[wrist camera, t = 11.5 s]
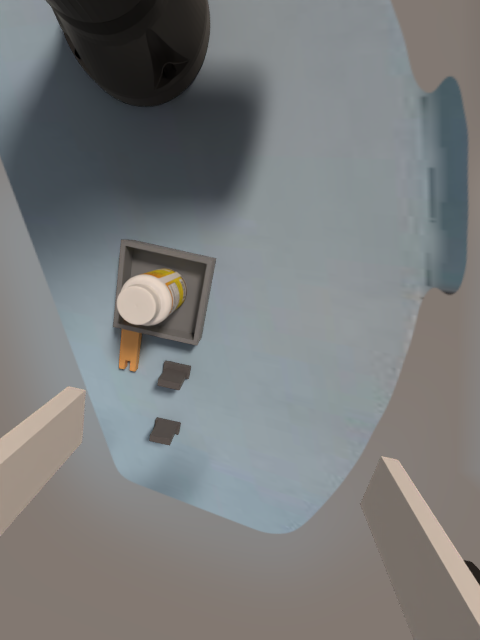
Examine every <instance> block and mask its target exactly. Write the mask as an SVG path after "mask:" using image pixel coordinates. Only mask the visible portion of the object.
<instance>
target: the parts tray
mask: <svg viewBox="0 0 480 640" xmlns="http://www.w3.org/2000/svg"><path fill="white" fill-rule="evenodd" d="M215 263H216V258H212V257H207V256H203V255H198V254H194V253H189V252H185V251H180V250H176V249H171V248H167V247H162V246H158V245H153V244H149V243H145V242H140V241H136V240H121V247H120V258H119V269H118V280H117V291H116V301H115V312H114V323H113V327H116V328H120V329H125V330H129V331H134V332H138V333H143V334H147V335H152V336H156V337H161V338H165V339H170V340H174V341H179V342H183V343H188V344H192V345H198V343H199V341H200V340H201V337H202V332H203V327H204V321H205V316H206V311H207V305H208V300H209V295H210V289H211V284H212V279H213V273H214V268H215ZM162 268H167V269H172V270H174V271H176V272H178V273H179V274H180V275H181V276H182V277H183V279H184V280H185V282H186V285H187V296H186V299H185V301H184V302H183V304H182V305H181V306H180V307H178V308H177V309H176V310H175V311H174V312H173V313H171V314H170V315H169V316H168V317H167V318H166V319H165V320H163V321H162V322H160V323H158V324H156V325H151V326H145V325H134V324H131V323H129V322H127V321H125V320H124V319H123V318H122V316H121V315H120V314H119V312H118V309H117V298H118V295H119V294H120V292H121V289H122V287H123V285H124V284H125V283H126V282H127V281H128V280H129V279H130V278H132V277H134V276H137V275H140V274H144V273H147V272H151V271H154V270H157V269H162Z"/></svg>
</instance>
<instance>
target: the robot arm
mask: <svg viewBox="0 0 480 640" xmlns="http://www.w3.org/2000/svg"><path fill="white" fill-rule="evenodd" d="M46 1H47V3H48V4H49V5H50V6H51V7H52V9H53V12H54V14H55V16H56V18H57V20H58V22H59V25H60V27H61V29H62V30H63V32H64V35H65V38H66V40H67V42H68V44H69V46H70V48H71V50H72V52H73V54H74V56H75V58H76V59H77V61H78V62H79V64H80V65H81V66H82V68H83V69H84V70H85V71H86V73H87V74H88V75H89V76H90V77H91V78H92V79H93V80H94V81H95V82H96V83H97V84H98V85H99V86H100V87H101V88H102V89H103V90H104V91H106V92H107V93H108V94H110V95H111V96H113V97H114V98H116V99H118V100H120V101H122V102H124V103H127V104H131V105H135V106H155V105H159V104H163V103H165V102H168V101H170V100H172V99H173V98H175V97H176V96H178V95H179V94H180V93H182V92H183V91H184V90H185V89H186V88H187V87H188V86H189V85H190V84H191V82H192V81H193V80H194V78H195V77H196V75H197V73H198V72H199V70H200V68H201V65H202V63H203V61H204V58H205V55H206V52H207V47H208V42H209V35H210V12H209V5H208V0H46ZM85 393H86V391H85V390H83V389H78V388H74V387H67V388H66V389H65V390H63V391H62V392H60V393H59V394H58V395H56V396H55V397H54V398H53V399H51V400H50V401H49V402H47V403H46V404H45V405H44V406H42V407H41V408H40V409H38V410H37V411H36V412H34V413H33V414H32V415H31V416H29V417H28V418H27V419H25V420H24V421H23V422H21V423H20V424H19V425H18V426H16V427H15V428H14V429H12V430H11V431H10V432H8V433H7V434H6V435H4V436H3V437H2V438H1V439H0V536H1V535H2V534H3V533H4V532H5V530H6V529H7V528H8V527H9V526H10V525H11V523H12V522H13V521H14V520H15V519H16V518H17V517H18V515H19V514H20V513H21V512H22V511H23V510H24V509H25V507H26V506H27V505H28V504H29V503H30V502H31V500H32V499H33V498H34V497H35V496H36V495H37V494H38V492H39V491H40V490H41V489H42V488H43V487H44V486H45V484H46V483H47V482H48V481H49V480H50V479H51V477H52V476H53V475H54V474H55V473H56V472H57V471H58V469H59V468H60V467H61V466H62V465H63V464H64V462H65V461H66V460H67V459H68V458H69V457H70V455H71V454H72V453H73V452H74V451H75V450H76V449H77V447H78V446H79V445H80V444H81V443H82V435H83V421H84V407H85ZM360 505H361V508H362V510H363V513H364V515H365V518H366V520H367V523H368V525H369V528H370V530H371V533H372V536H373V538H374V541H375V543H376V545H377V548H378V551H379V553H380V556H381V558H382V561H383V563H384V566H385V568H386V571H387V574H388V576H389V579H390V581H391V583H392V586H393V589H394V591H395V594H396V596H397V599H398V601H399V604H400V606H401V609H402V611H403V614H404V617H405V619H406V622H407V624H408V627H409V629H410V632H411V634H412V637H413V639H414V640H480V570H479V569H478V568H477V567H476V566H475V565H474V564H473V563H472V562H470V561H465V560H463V559H462V558H461V556H460V554H459V553H458V551H457V550H456V548H455V547H454V545H453V544H452V543H451V541H450V539H449V538H448V536H447V534H446V533H445V531H444V530H443V528H442V527H441V525H440V524H439V522H438V521H437V519H436V517H435V516H434V514H433V513H432V511H431V510H430V508H429V507H428V505H427V504H426V502H425V501H424V499H423V498H422V496H421V494H420V493H419V491H418V490H417V488H416V487H415V485H414V484H413V482H412V481H411V479H410V478H409V476H408V474H407V473H406V471H405V470H404V468H403V467H402V465H401V464H400V462H399V460H396V459H392V458H388V457H382V456H381V457H380V459H379V462H378V464H377V466H376V469H375V471H374V474H373V476H372V478H371V480H370V482H369V485H368V487H367V490H366V492H365V494H364V496H363V499H362V501H361V503H360Z"/></svg>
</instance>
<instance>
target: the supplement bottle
mask: <svg viewBox="0 0 480 640" xmlns="http://www.w3.org/2000/svg"><path fill="white" fill-rule="evenodd" d="M186 296H187V285H186V282H185V280H184V279H183V277H182V276H181V275H180V274H179V273H178V272H176V271H174V270H172V269H167V268H162V269H157V270H154V271H151V272H147V273H144V274H140V275H137V276H134V277H132V278H130V279H129V280H128V281H127V282H126V283H125V284H124V285H123V287H122V289H121V292H120V294H119V295H118V298H117V309H118V312H119V314H120V315H121V316H122V318H123V319H124V320H126V321H127V322H129V323H131V324H134V325H145V326H151V325H156V324H158V323H160V322H162V321H163V320H165V319H166V318H167V317H168V316H169V315H170V314H171V313H173V312H174V311H175V310H176V309H177V308H178V307H180V306H181V305H182V304H183V302H184V301H185V299H186Z"/></svg>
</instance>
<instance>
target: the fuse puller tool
mask: <svg viewBox="0 0 480 640" xmlns="http://www.w3.org/2000/svg"><path fill="white" fill-rule="evenodd" d="M125 321H126V320H125ZM141 338H142V333H138V332H134V331H129V330H125V329H122V332H121V345H120V359H119V368H121V369H125V368H126V367H127V363H128V361H131V362H130V371H136V370H137V369H138V363H139V354H140V346H141Z"/></svg>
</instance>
